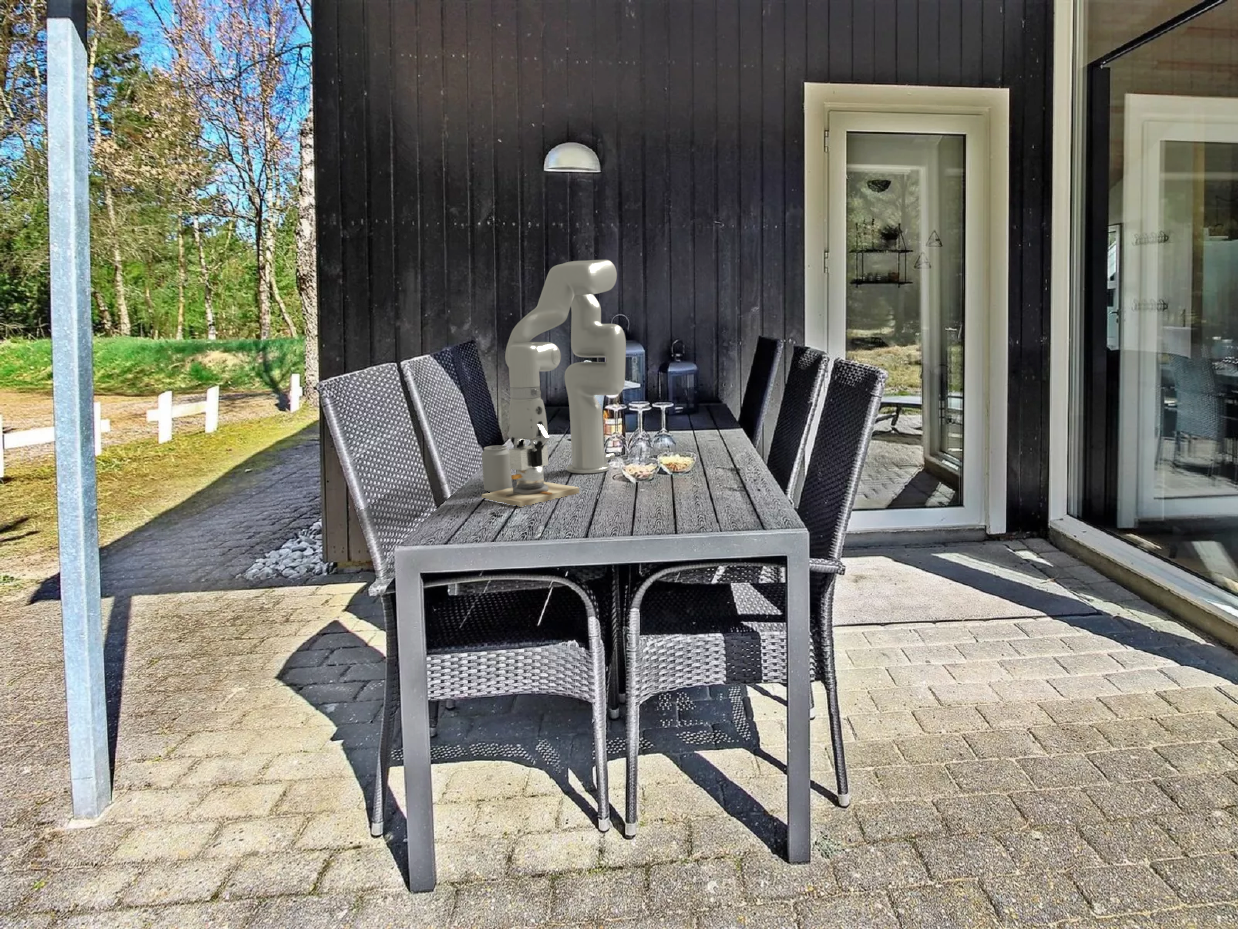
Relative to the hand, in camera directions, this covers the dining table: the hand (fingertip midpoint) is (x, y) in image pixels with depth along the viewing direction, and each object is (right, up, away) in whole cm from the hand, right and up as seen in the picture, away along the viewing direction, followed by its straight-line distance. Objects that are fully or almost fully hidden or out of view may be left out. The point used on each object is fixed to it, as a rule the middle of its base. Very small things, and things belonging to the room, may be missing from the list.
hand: (529, 464), depth 222 cm
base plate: (0, -8, +2) cm, 8 cm away
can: (-9, -7, +10) cm, 15 cm away
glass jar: (0, -6, +1) cm, 6 cm away
